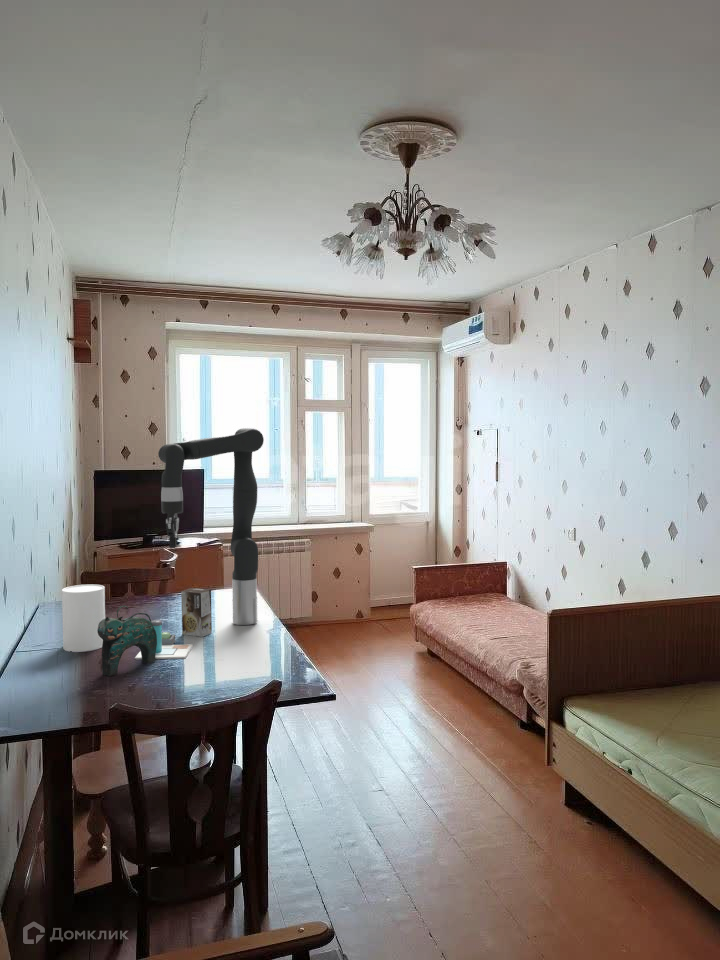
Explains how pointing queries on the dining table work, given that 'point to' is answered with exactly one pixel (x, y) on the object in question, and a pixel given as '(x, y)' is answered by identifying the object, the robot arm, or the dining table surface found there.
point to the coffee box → (196, 612)
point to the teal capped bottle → (158, 634)
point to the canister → (82, 617)
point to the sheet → (171, 652)
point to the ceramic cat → (126, 640)
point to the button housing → (169, 640)
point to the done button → (165, 635)
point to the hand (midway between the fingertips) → (172, 547)
